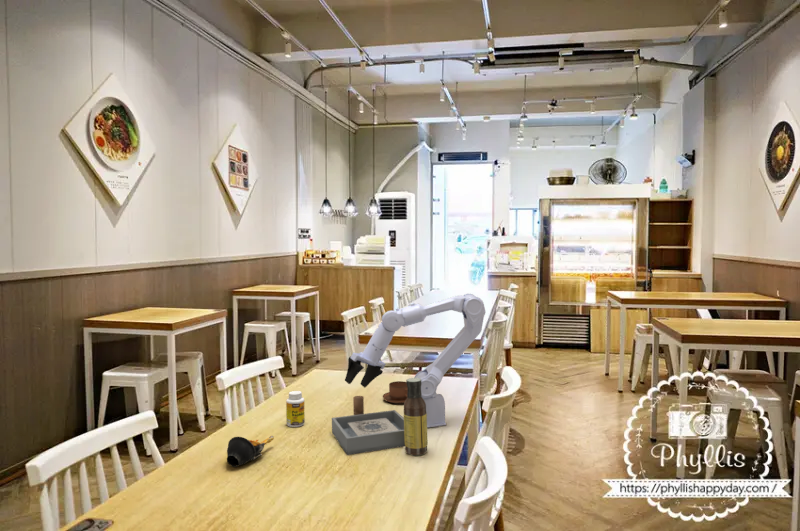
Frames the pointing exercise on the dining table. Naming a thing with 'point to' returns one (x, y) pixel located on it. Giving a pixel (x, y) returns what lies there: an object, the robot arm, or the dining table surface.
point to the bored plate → (370, 427)
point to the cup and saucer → (396, 392)
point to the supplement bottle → (295, 409)
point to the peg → (358, 405)
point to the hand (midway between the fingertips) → (355, 384)
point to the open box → (371, 440)
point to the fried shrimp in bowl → (244, 450)
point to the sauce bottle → (415, 419)
